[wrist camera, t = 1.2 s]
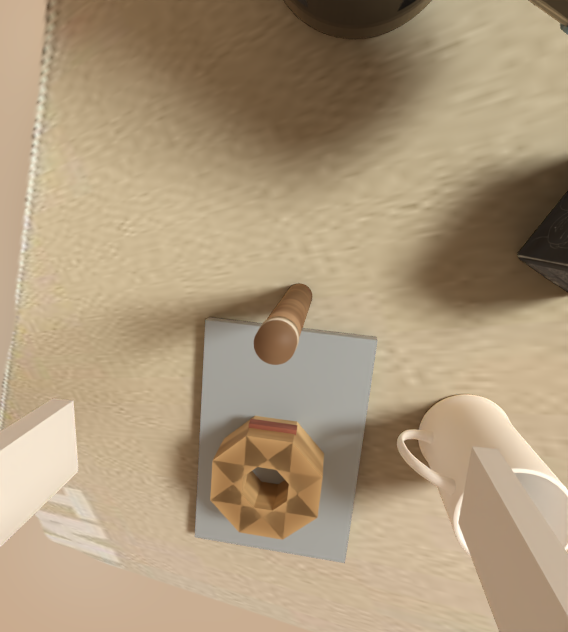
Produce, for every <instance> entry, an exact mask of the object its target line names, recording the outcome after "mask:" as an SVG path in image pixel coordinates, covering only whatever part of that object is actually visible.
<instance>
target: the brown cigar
mask: <svg viewBox="0 0 568 632" xmlns="http://www.w3.org/2000/svg"><path fill="white" fill-rule="evenodd" d="M311 301H312V292H311V290H310V289H309V287H307V286H306V285H304V284H294V285H292V286H291V287H290V288H289V289H288V291H287V292H286V294H285V295H284V296H283V298H282V299H281V300H280V302H279V303H278V304H277V306H276V307H275V309H274V310H273V311H272V313H271V314H270V315H269V317H268V318H267V320H266V321H265V322H263V324H262V325H261V326H260V328H259V329H258V331H257V333H256V335H255V338H254V349H255V352H256V354H257V356H258V357H259V358H260V359H261V360H262V361H264V362H266V363H268V364H272V365H280V364H283V363H285V362H287V361H288V360H290V359H291V357H292V356H293V354H294V352H295V350H296V348H297V346H298V343H299V337H300V334H301V331H302V328H303V325H304V322H305V319H306V316H307V313H308V310H309V307H310V304H311Z"/></svg>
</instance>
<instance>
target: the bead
mask: <svg viewBox="0 0 568 632" xmlns="http://www.w3.org/2000/svg"><path fill="white" fill-rule="evenodd" d="M323 462H324V453H323V451H322V450H321V449H320V448H319V447H318V446H317V444H316V443H315V442H314V441H313V440H312V438H311V437H310V436H309V435H308V434H307V433H306V431H305V430H304V429H303V428H302V427H301V426H300V424H299V423H298V422H297V421H290V420H283V419H275V418H268V417H261V416H254V417H252V418H251V419H250V420H248V421H247V422H246V423H244V424H243V425H242V426H240V427H239V428H238V429H236V430H235V431H233V432H232V433H231V434H229V435H228V436H227V437H225V438H224V440H223V441H222V443H221V445H220V447H219V449H218V451H217V453H216V455H215V457H214V459H213V461H212V479H211V496H210V500H211V502H212V503H213V504H214V505H215V506H216V507H217V508H218V509H219V510H220V512H221V513H222V514H223V515H224V516H225V517H226V518H227V519H228V521H229V522H230V523H231V524H232V525H233V526H234V527H235V528H236V529H237V531H238V532H240V533H246V534H252V535H258V536H264V537H269V538H275V539H281V540H283V539H285V538H286V537H288V536H289V535H291V534H293V533H294V532H296V531H297V530H299V529H300V528H302V527H304V526H305V525H307V524H308V523H310V522H312V521H313V520H315V519H316V518H318V510H319V502H320V494H321V486H322V478H323ZM257 467H261V468H267V469H274V470H277V471H278V472H279V473H280V475H281V476H282V477H283V478H284V479H285V480H284V481H283V482H281V483H280V484H273V483H267V482H261V480H260V479H259V478H258V477H257V476H256V475H255V474H254V472H253V471H252V470H254V469H255V468H257Z"/></svg>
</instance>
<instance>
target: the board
mask: <svg viewBox="0 0 568 632" xmlns="http://www.w3.org/2000/svg"><path fill="white" fill-rule="evenodd" d="M262 324H263V323H255V322H246V321H238V320H229V319H221V318H213V317H209V318H207V319H206V320H205V339H204V359H203V379H202V400H201V420H200V441H199V461H198V482H197V502H196V523H195V537H197V538H203V539H208V540H214V541H220V542H226V543H231V544H237V545H243V546H249V547H255V548H260V549H266V550H272V551H278V552H284V553H289V554H295V555H301V556H307V557H313V558H318V559H324V560H330V561H336V562H341V563H345V559H346V552H347V545H348V539H349V532H350V525H351V518H352V511H353V504H354V497H355V491H356V484H357V477H358V470H359V463H360V456H361V450H362V443H363V436H364V429H365V422H366V415H367V409H368V402H369V395H370V388H371V381H372V374H373V368H374V361H375V354H376V347H377V338H376V337H373V336H365V335H356V334H348V333H339V332H331V331H322V330H314V329H305V328H302V331H301V334H300V337H299V343H298V346H297V348H296V350H295V352H294V354H293V356H292V357H291V359H290V360H288V361H287V362H285V363H283V364H280V365H272V364H268V363H266V362H264V361H262V360H261V359H260V358H259V357H258V356H257V354H256V352H255V349H254V338H255V335H256V333H257V331H258V329H259V328H260V326H261V325H262ZM254 416H261V417H268V418H275V419H283V420H290V421H297V422H298V423H299V424H300V426H301V427H302V428H303V429H304V430H305V431H306V433H307V434H308V435H309V436H310V437H311V438H312V440H313V441H314V442H315V443H316V444H317V446H318V447H319V448H320V449H321V450H322V451H323V453H324V462H323V478H322V486H321V494H320V502H319V510H318V518H316V519H315V520H313V521H312V522H310V523H308V524H307V525H305V526H304V527H302V528H300V529H299V530H297V531H296V532H294V533H293V534H291V535H289V536H288V537H286V538H285V539H283V540H281V539H275V538H269V537H264V536H258V535H252V534H246V533H240V532H238V531H237V529H236V528H235V527H234V526H233V525H232V524H231V523H230V522H229V521H228V519H227V518H226V517H225V516H224V515H223V514H222V513H221V512H220V510H219V509H218V508H217V507H216V506H215V505H214V504H213V503H212V502H211V500H210V496H211V479H212V461H213V459H214V457H215V455H216V453H217V451H218V449H219V447H220V445H221V443H222V441H223V440H224V438H225V437H227V436H228V435H229V434H231V433H232V432H233V431H235V430H236V429H238V428H239V427H240V426H242V425H243V424H244V423H246V422H247V421H248V420H250V419H251V418H252V417H254ZM252 471H253V472H254V474H255V475H256V476H257V477H258V478H259V479H260V480H261V482H267V483H273V484H280V483H281V482H283V481H284V480H285V479H284V478H283V477H282V476H281V475H280V473H279V472H278V471H277V470H274V469H267V468H261V467H257V468H255V469H254V470H252Z"/></svg>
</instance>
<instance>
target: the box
mask: <svg viewBox="0 0 568 632" xmlns="http://www.w3.org/2000/svg"><path fill="white" fill-rule="evenodd" d="M517 255H518V257H519V259H520V260H521V261H523V262H524V263H526V264H527V265H528V266H530V267H531V268H533V269H534V270H535V271H537V272H538V273H540V274H541V275H542V276H544V277H545V278H547V279H549V280H550V281H552V282H553V283H554V284H556V285H558V286H559V287H561V288H562V289H564V290H566V291H567V292H568V191H567V193H566V194H565V195H564V196H563V198H562V199H561V200H560V201H559V203H558V204H557V205H556V206H555V208H554V209H553V210H552V211H551V212H550V214H549V215H548V216H547V217H546V219H545V220H544V221H543V222H542V224H541V225H540V226H539V227H538V229H537V230H536V231H535V232H534V234H533V235H532V236H531V237H530V239H529V240H528V241H527V242H526V244H525V245H524V246H523V247H522V249H521V250H520V251H519V252H518V253H517Z"/></svg>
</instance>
